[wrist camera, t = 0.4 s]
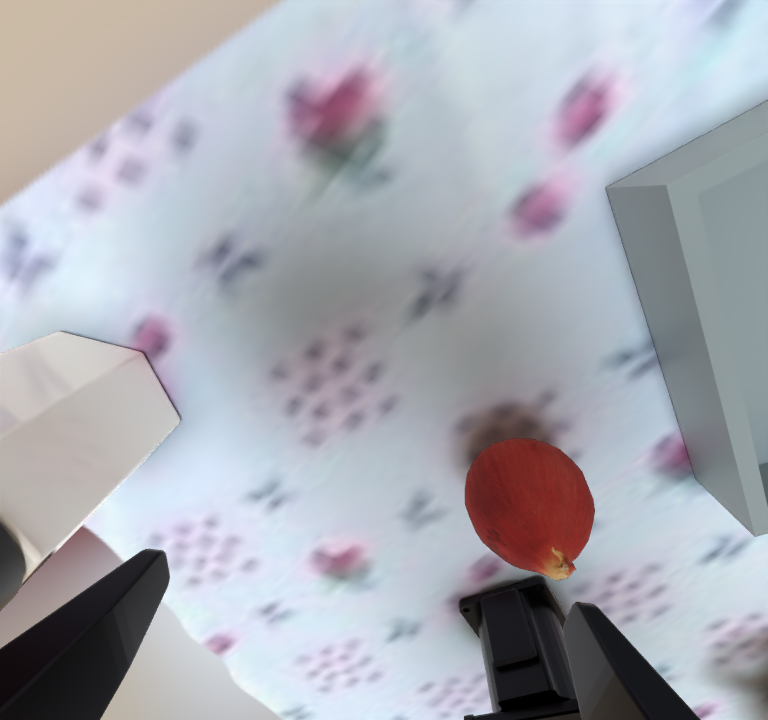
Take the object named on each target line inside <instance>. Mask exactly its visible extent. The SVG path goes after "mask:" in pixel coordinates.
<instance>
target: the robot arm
mask: <svg viewBox="0 0 768 720" xmlns="http://www.w3.org/2000/svg"><path fill="white" fill-rule="evenodd" d="M169 579H170V574H169V568H168V562H167V557H166V553H165V552H164V551H163V550H156V549H145V550H142V551H141V552H139V553H138V554H136V555H135V556H133V557H132V558H130V559H129V560H128V561H126V562H125V563H123V564H122V565H120V566H119V567H117V568H116V569H115V570H113V571H112V572H110V573H109V574H107V575H106V576H105V577H103V578H102V579H100V580H99V581H97V582H96V583H94V584H93V585H92V586H90V587H89V588H87V589H86V590H85V591H83V592H82V593H80V594H79V595H77V596H76V597H74V598H73V599H71V600H70V601H69V602H67V603H66V604H64V605H63V606H61V607H60V608H58V609H57V610H56V611H54V612H53V613H51V614H50V615H48V616H47V617H45V618H44V619H43V620H41V621H40V622H38V623H37V624H35V625H34V626H33V627H31V628H30V629H28V630H27V631H25V632H24V633H22V634H21V635H20V636H18V637H17V638H15V639H14V640H12V641H11V642H9V643H8V644H7V645H5V646H4V647H2V648H1V649H0V720H100V719H101V717H102V715H103V714H104V712H105V710H106V708H107V707H108V705H109V703H110V701H111V700H112V698H113V696H114V694H115V693H116V691H117V689H118V687H119V686H120V684H121V682H122V680H123V679H124V677H125V675H126V673H127V671H128V669H129V668H130V666H131V664H132V661H133V659H134V657H135V655H136V653H137V651H138V649H139V647H140V645H141V643H142V641H143V638H144V636H145V634H146V632H147V630H148V628H149V626H150V623H151V621H152V619H153V617H154V615H155V613H156V611H157V608H158V606H159V604H160V602H161V600H162V598H163V596H164V593H165V591H166V589H167V587H168V584H169ZM459 610H460V613H461V614H462V615H463V617H464V618H465V619H466V621H467V622H468V623H469V625H470V626H471V628H472V629H473V630H474V632H475V633H476V634H477V636H478V637H479V638H480V641H481V647H482V652H483V658H484V664H485V670H486V675H487V681H488V687H489V693H490V698H491V704H492V710H493V713H489V714H484V715H478V716H474V715H473V714H472V715H466V716H464V720H701V719H700V718H699V717H698V716H697V715H696V714H695V713H694V712H693V711H692V710H691V709H690V707H689V706H688V705H687V704H686V703H685V702H684V701H683V700H682V699H681V698H680V696H679V695H678V694H677V693H676V692H675V691H674V690H673V689H672V688H671V687H670V686H669V684H668V683H667V682H666V681H665V680H664V679H663V678H662V677H661V676H660V675H659V674H658V672H657V671H656V670H655V669H654V668H653V667H652V666H651V665H650V664H649V663H648V661H647V660H646V659H645V658H644V657H643V656H642V655H641V654H640V653H639V652H638V651H637V649H636V648H635V647H634V646H633V645H632V644H631V643H630V642H629V641H628V640H627V638H626V637H625V636H624V635H623V634H622V633H621V632H620V631H619V630H618V629H617V628H616V626H615V625H614V624H613V623H612V622H611V621H610V620H609V619H608V618H607V617H606V615H605V614H604V613H603V612H602V611H601V610H600V609H599V608H598V607H597V606H595V605H594V604H590V603H582V602H576V603H574V604H573V605H572V607H571V610H570V612H569V614H568V617H566V615H565V614H564V612H563V610H562V608H561V607H560V605H559V603H558V601H557V600H556V598H555V596H554V595H553V593H552V591H551V589H550V588H549V586H548V584H547V582H546V581H545V580H544V579H543V578H535V579H532V580H528V581H525V582H522V583H519V584H515V585H512V586H509V587H505V588H502V589H499V590H496V591H492V592H489V593H486V594H483V595H479V596H476V597H473V598H469V599H466V600H463V601H461V602H460V603H459Z"/></svg>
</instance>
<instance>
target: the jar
mask: <svg viewBox="0 0 768 720" xmlns="http://www.w3.org/2000/svg"><path fill="white" fill-rule="evenodd" d="M179 423H180V418H179V416H178V414H177V412H176V411H175V409H174V407H173V405H172V403H171V402H170V400H169V398H168V396H167V395H166V393H165V391H164V389H163V388H162V386H161V384H160V382H159V381H158V379H157V377H156V375H155V373H154V372H153V370H152V368H151V366H150V365H149V363H148V361H147V359H146V358H145V356H144V354H143V353H142V352H139V351H135V350H131V349H127V348H123V347H119V346H115V345H111V344H107V343H103V342H99V341H96V340H92V339H88V338H84V337H80V336H76V335H72V334H68V333H64V332H60V331H59V332H54V333H52V334H49V335H47V336H44V337H41V338H39V339H36V340H34V341H31V342H28V343H26V344H23V345H21V346H18V347H15V348H13V349H10V350H8V351H5V352H2V353H0V611H1V610H2V609H3V608H4V607H5V606H6V605H7V604H8V602H10V601H11V600H12V599H13V598H14V596H15V595H16V594H17V593H18V591H19V589H20V588H21V587H22V586H23V585H24V584H25V583H26V582H27V581H28V580H29V579H30V578H31V577H32V576H33V575H34V574H35V573H36V572H37V571H38V570H39V569H40V568H41V567H42V566H43V565H44V564H45V563H46V562H47V561H48V559H50V557H51V556H52V555H53V554H54V553H55V552H56V551H57V550H58V549H59V548H60V547H61V546H62V545H63V544H64V543H65V542H66V541H67V540H68V539H69V538H70V537H71V536H72V535H73V534H74V533H75V532H76V531H77V530H78V529H79V528H80V527H81V526H82V525H83V524H84V523H85V522H86V521H87V520H88V519H89V518H90V517H91V516H92V515H93V514H94V513H95V512H96V511H97V510H98V509H99V508H100V507H101V506H102V505H103V504H104V503H105V502H106V500H107V499H108V498H109V497H110V496H111V495H112V494H113V493H114V492H115V491H116V490H117V489H118V488H119V487H120V486H121V485H122V484H123V483H124V482H125V481H126V480H127V479H128V478H129V477H130V476H131V475H132V474H133V473H134V472H135V471H136V470H137V469H138V468H139V467H140V466H141V465H142V464H143V463H144V462H145V461H146V460H147V458H148V457H149V456H150V455H151V454H152V453H153V452H154V451H155V450H156V449H157V447H158V446H159V445H160V444H161V443H162V442H163V441H164V440H165V439H166V438H167V436H168V435H169V434H170V433H171V432H172V431H173V430H174V429H175V428H176V427H177V425H178V424H179Z"/></svg>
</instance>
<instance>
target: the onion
mask: <svg viewBox="0 0 768 720" xmlns="http://www.w3.org/2000/svg"><path fill="white" fill-rule="evenodd" d="M465 506H466V509H467V511H468V514H469V517H470V519H471V522H472V524H473V526H474V529H475V531H476V533H477V535H478V536H479V538H480V539H481V540H482V542H483V543H484V544H485V545H486V546H487V547H488V548H490V549H491V550H492V551H493V552H494V553H496V554H497V555H498V556H499V557H501V558H502V559H503V560H505V561H506V562H508V563H509V564H511V565H513V566H515V567H518V568H520V569H524V570H528V571H533V572H538V573H540V574H543V575H547V576H549V577H551V578H552V579H554V580H556V581H557V580H561V579H566V578H568V577H569V576H570V575H571V573H572V572H573V571H574V570H576V568H575V566H574V564H573V563H572V561H573V560H575V559H576V558H577V557H578V556H579V554H580V553H581V551H582V550H583V548H584V547H585V545H586V544H587V542H588V540H589V536H590V533H591V529H592V525H593V521H594V513H595V508H594V501H593V497H592V495H591V492H590V490H589V487H588V485H587V482H586V480H585V477H584V475H583V472H582V471H581V470H580V468H579V467H578V466H577V465H576V464H575V463H574V462H573V460H571V459H570V458H569V457H568V456H567V455H566V454H564V453H563V452H562V451H561V450H560V449H558V448H556V447H554V446H552V445H549V444H547V443H543V442H540V441H537V440H534V439H520V438H513V439H509V440H504V441H500V442H496V443H494V444H493V445H491V446H489V447H488V448H486V449H485V450H483V451H482V452H480V454H479V455H478V457H477V458H476V460H475V461H474V462H473V464H472V465H471V467H470V469H469V471H468V473H467V477H466V485H465Z"/></svg>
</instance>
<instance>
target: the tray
mask: <svg viewBox="0 0 768 720" xmlns="http://www.w3.org/2000/svg"><path fill="white" fill-rule="evenodd" d="M606 191H607V194H608V197H609V200H610V204H611V207H612V210H613V213H614V217H615V220H616V223H617V226H618V230H619V233H620V236H621V239H622V242H623V246H624V249H625V252H626V255H627V259H628V262H629V265H630V268H631V272H632V275H633V278H634V281H635V284H636V288H637V291H638V294H639V297H640V301H641V304H642V307H643V310H644V314H645V317H646V320H647V323H648V326H649V330H650V333H651V336H652V339H653V343H654V346H655V349H656V352H657V356H658V359H659V362H660V365H661V368H662V372H663V375H664V378H665V381H666V385H667V388H668V391H669V394H670V398H671V401H672V404H673V407H674V410H675V414H676V417H677V420H678V423H679V427H680V430H681V433H682V436H683V440H684V443H685V446H686V449H687V452H688V456H689V459H690V462H691V465H692V469H693V472H694V475H695V478H696V480H697V481H698V482H699V483H700V484H701V485H702V486H703V487H704V488H705V489H706V490H707V491H708V492H709V493H710V494H711V495H712V496H713V497H714V498H715V499H716V500H717V501H718V502H719V503H720V504H721V505H722V506H723V507H724V508H726V509H727V510H728V511H729V512H730V513H731V514H732V515H733V516H734V517H735V518H736V519H737V520H738V521H739V522H740V523H741V524H742V525H743V526H744V527H745V528H746V529H747V530H748V531H749V532H750V533H751V534H752V535H754V536H755V537H757V536H760V535H764V534H767V533H768V100H767V101H765V102H764V103H762V104H760V105H758V106H756V107H754V108H752V109H751V110H749V111H747V112H745V113H743V114H741V115H739V116H738V117H736V118H734V119H732V120H730V121H728V122H727V123H725V124H723V125H721V126H719V127H717V128H715V129H714V130H712V131H710V132H708V133H706V134H704V135H702V136H701V137H699V138H697V139H695V140H693V141H691V142H690V143H688V144H686V145H684V146H682V147H680V148H678V149H677V150H675V151H673V152H671V153H669V154H667V155H665V156H664V157H662V158H660V159H658V160H656V161H654V162H653V163H651V164H649V165H647V166H645V167H643V168H641V169H640V170H638V171H636V172H634V173H632V174H630V175H628V176H627V177H625V178H623V179H621V180H619V181H617V182H616V183H614V184H612V185H610V186H608V187H606Z"/></svg>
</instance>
